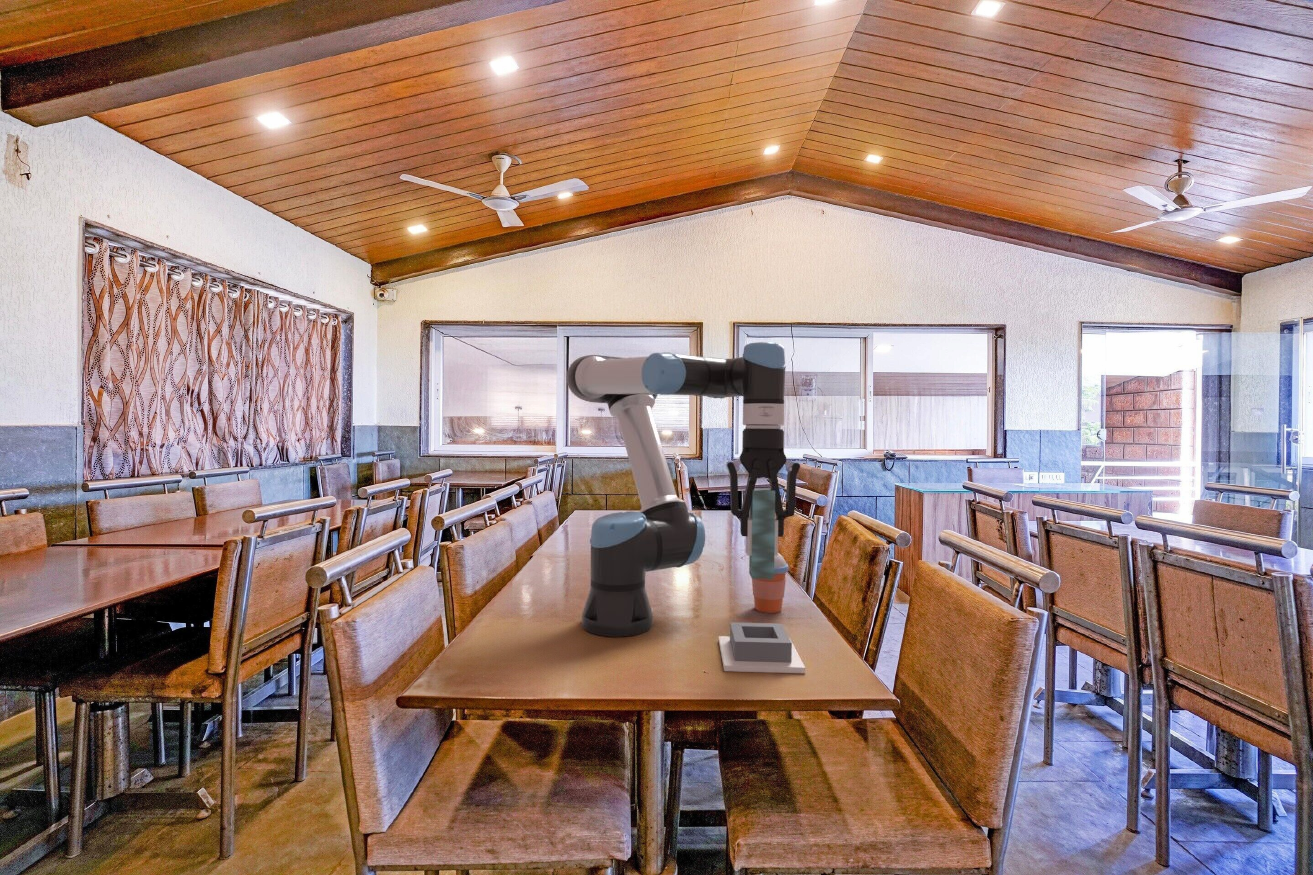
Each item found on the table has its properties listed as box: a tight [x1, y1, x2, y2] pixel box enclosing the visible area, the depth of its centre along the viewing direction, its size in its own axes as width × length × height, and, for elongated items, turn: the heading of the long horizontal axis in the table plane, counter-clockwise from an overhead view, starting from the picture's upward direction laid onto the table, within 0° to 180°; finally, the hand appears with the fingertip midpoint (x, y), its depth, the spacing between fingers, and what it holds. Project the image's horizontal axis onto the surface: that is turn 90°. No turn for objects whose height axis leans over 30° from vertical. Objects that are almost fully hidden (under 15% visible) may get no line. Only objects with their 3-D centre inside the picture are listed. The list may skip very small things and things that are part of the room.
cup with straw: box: [751, 552, 790, 614], centre depth 136 cm, size 9×9×18 cm
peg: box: [748, 488, 776, 580], centre depth 107 cm, size 4×4×16 cm
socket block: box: [718, 621, 806, 674], centre depth 108 cm, size 14×14×4 cm
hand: (761, 553), depth 107 cm, fingers closed on peg, 4 cm apart
